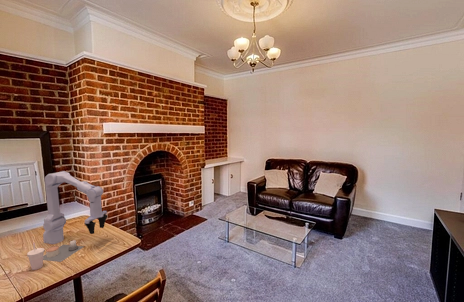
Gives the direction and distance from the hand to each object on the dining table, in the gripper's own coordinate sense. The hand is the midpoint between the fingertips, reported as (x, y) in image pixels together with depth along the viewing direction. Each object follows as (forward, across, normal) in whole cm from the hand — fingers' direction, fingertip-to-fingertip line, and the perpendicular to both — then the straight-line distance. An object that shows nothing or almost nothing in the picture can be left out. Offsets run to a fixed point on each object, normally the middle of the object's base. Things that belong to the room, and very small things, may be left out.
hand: (97, 230), depth 127 cm
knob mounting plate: (+10, -11, +13) cm, 20 cm away
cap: (+9, -13, +16) cm, 22 cm away
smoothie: (+10, -24, +13) cm, 29 cm away
